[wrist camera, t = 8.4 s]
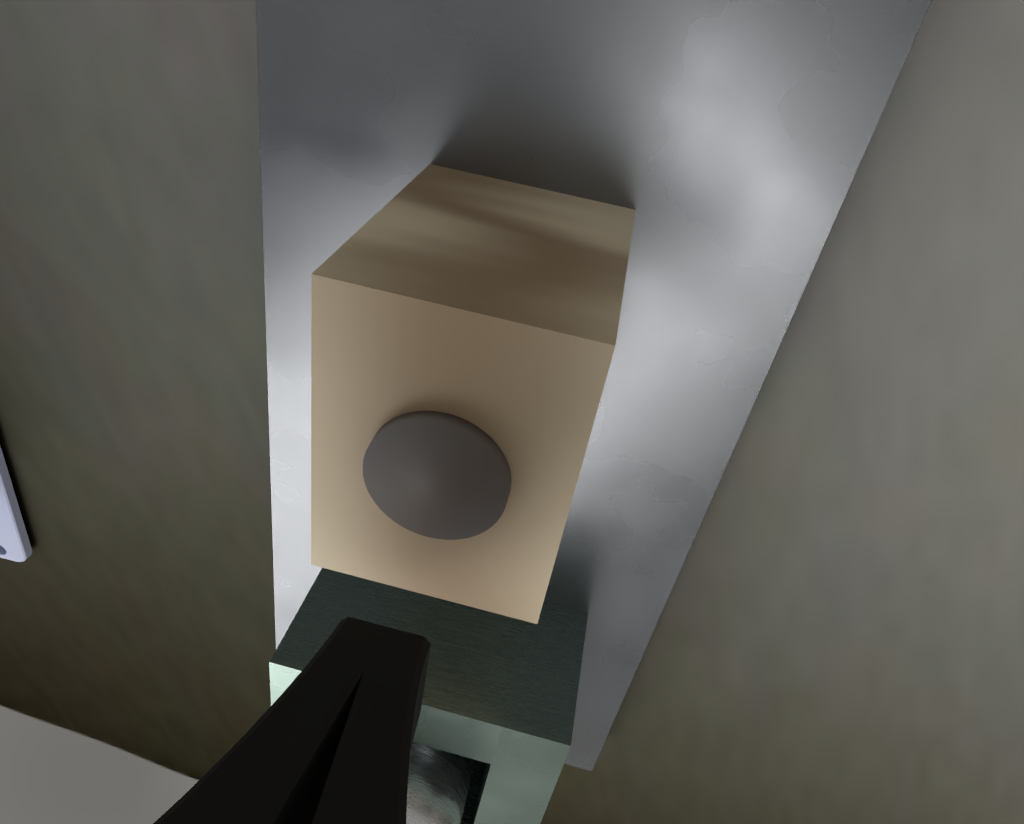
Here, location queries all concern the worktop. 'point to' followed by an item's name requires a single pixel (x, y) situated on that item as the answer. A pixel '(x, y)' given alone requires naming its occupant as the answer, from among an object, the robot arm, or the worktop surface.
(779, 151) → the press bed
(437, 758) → the press pin
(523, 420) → the block
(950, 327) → the worktop surface
